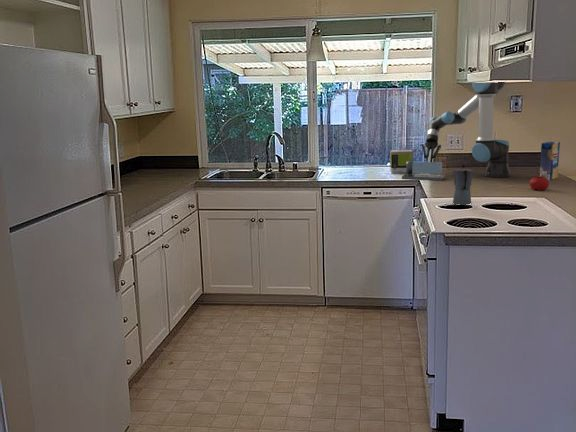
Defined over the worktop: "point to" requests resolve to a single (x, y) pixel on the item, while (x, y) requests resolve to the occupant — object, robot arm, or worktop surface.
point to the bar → (424, 167)
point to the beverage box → (549, 160)
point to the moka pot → (462, 185)
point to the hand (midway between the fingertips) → (428, 165)
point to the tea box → (400, 160)
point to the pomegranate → (539, 183)
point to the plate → (423, 177)
